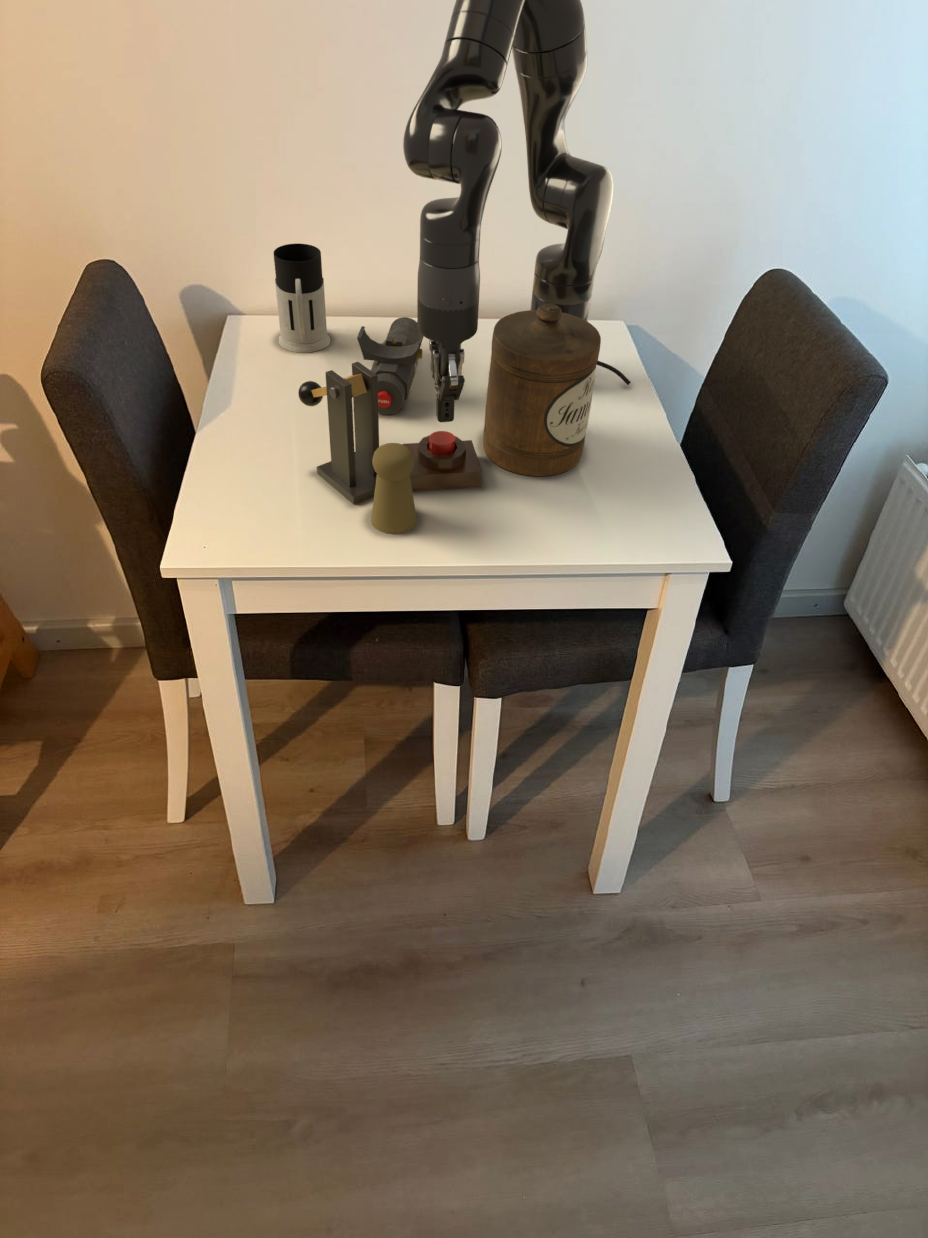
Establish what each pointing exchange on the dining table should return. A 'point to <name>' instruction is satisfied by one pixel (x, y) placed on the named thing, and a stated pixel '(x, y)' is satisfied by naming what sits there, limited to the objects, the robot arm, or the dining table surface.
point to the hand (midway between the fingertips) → (444, 418)
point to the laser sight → (393, 362)
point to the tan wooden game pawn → (393, 489)
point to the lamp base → (444, 467)
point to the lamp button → (442, 443)
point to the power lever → (314, 393)
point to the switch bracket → (352, 435)
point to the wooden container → (540, 390)
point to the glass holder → (300, 298)
